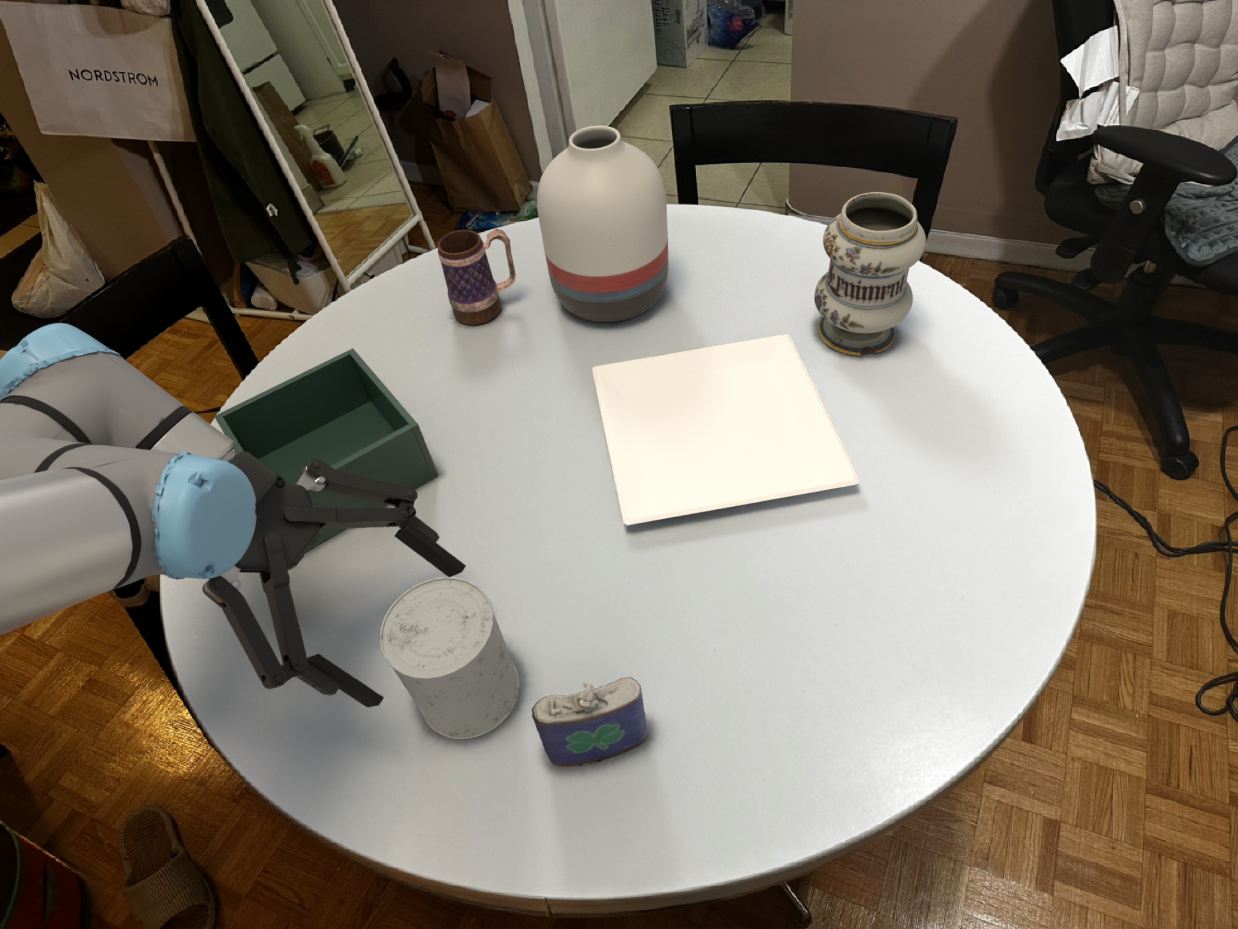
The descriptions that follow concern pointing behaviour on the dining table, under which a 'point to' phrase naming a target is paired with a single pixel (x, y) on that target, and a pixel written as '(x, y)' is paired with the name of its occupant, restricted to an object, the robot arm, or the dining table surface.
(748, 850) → the dining table surface
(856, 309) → the apothecary jar
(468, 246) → the mug
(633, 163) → the vase
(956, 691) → the dining table surface
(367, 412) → the bin
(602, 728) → the flask
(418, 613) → the white speckled cylinder
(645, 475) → the white flat square slab
